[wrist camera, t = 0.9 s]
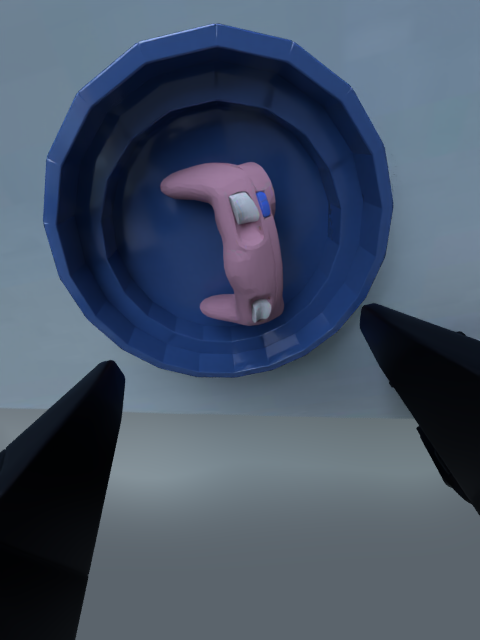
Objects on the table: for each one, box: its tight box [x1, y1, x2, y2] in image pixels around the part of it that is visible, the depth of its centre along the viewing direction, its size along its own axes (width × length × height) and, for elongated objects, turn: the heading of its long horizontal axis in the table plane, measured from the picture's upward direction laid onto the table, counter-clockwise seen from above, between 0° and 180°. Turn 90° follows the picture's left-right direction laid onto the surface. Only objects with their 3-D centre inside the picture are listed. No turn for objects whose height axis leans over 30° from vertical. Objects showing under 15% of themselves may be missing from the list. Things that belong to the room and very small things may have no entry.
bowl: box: [43, 23, 393, 378], centre depth 16 cm, size 18×18×4 cm
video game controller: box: [160, 162, 284, 326], centre depth 16 cm, size 10×5×7 cm, turn 10°
